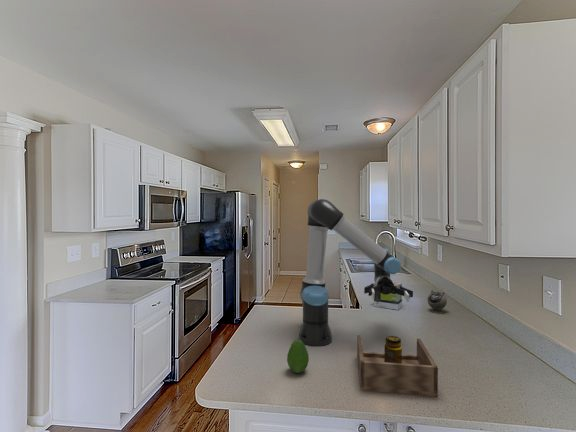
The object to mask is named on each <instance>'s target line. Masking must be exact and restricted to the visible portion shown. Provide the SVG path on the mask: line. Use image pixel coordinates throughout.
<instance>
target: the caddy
mask: <svg viewBox="0 0 576 432" xmlns="http://www.w3.org/2000/svg"><path fill="white" fill-rule="evenodd" d="M356 342H357V344H356V349H357V350H356V356H357V357H356V359H357V368H358V369H357V370H358V376H359V377H358V378H359V385H360V386H359V387H360V391H369V392H383V393H393V394H394V393H395V394H404V395H405V394H406V395H417V396H430V397H438V393H439V392H438V390H439V385H438V383H439V372H438V371H439V367H438V366H437V364H436V363H435V361H434V359H433V358H432V356H431V354H430V353H429V351H428V350H427V347H426V346H425V344H424V343H423V341H422V339H421V338H416V354H403V353H402V363H388V362H384V352H374V351H372V352H370V351H363V345H362V343H363V342H362V337H361V335H360V334H357V335H356Z"/></svg>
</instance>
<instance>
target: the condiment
mask: <svg viewBox="0 0 576 432" xmlns="http://www.w3.org/2000/svg"><path fill="white" fill-rule="evenodd" d="M401 342H402V339H401V338H400V337H398V336H395V335H387V336H386V337H385V344H384V347H383V349H384V352H383V353H384V362H388V363H402V354H403V346H402V343H401Z"/></svg>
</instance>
